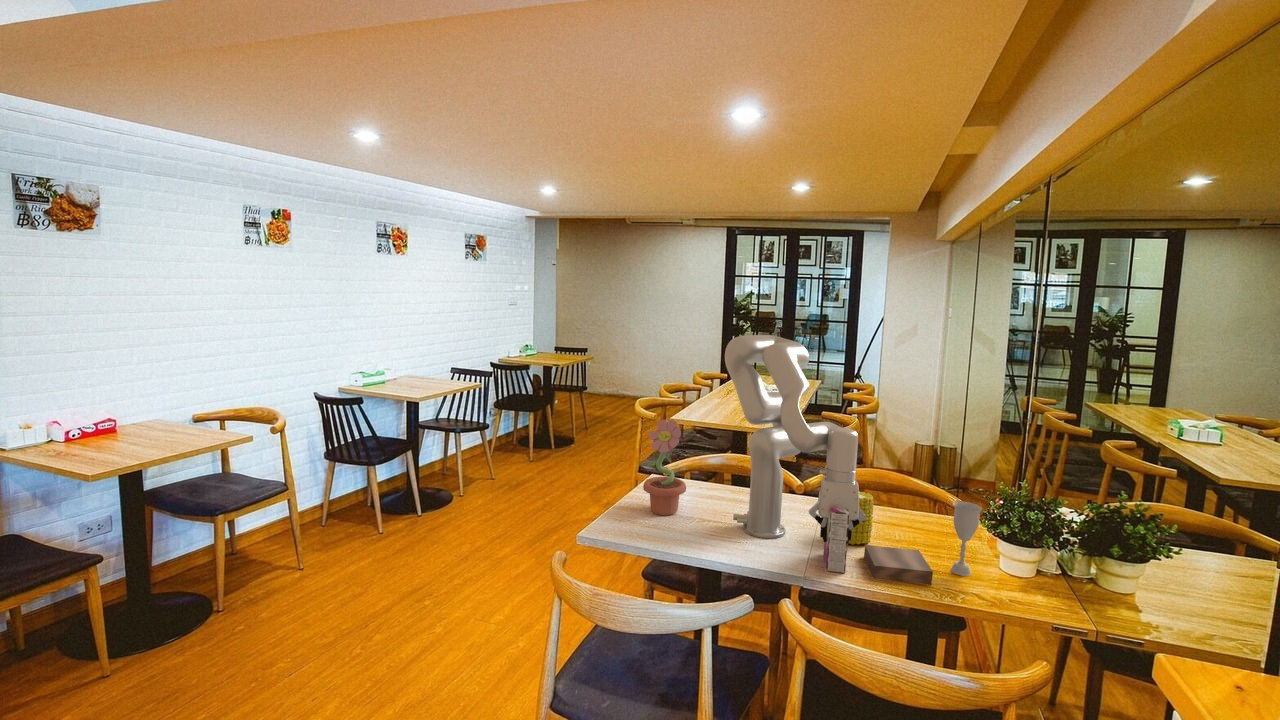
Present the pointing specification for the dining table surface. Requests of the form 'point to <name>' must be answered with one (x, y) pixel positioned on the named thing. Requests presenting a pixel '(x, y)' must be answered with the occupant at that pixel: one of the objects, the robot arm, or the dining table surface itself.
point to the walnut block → (897, 564)
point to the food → (865, 527)
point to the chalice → (965, 531)
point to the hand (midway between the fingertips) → (835, 540)
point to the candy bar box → (836, 540)
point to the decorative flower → (664, 471)
